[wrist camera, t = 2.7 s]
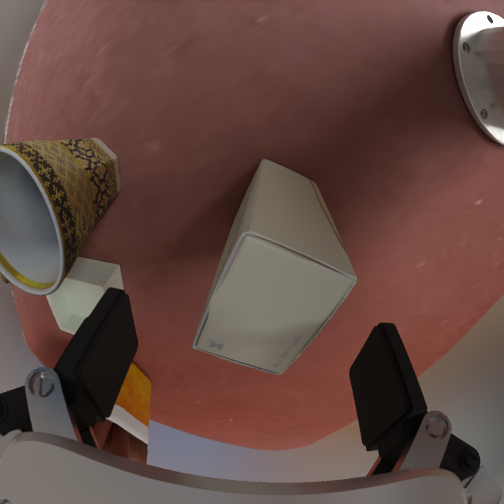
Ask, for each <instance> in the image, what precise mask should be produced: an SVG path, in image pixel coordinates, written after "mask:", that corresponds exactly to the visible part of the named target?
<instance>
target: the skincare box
mask: <svg viewBox="0 0 504 504" xmlns="http://www.w3.org/2000/svg"><path fill="white" fill-rule="evenodd" d="M356 282H357V277H356V275H355V272H354V269H353V267H352V265H351V262H350V260H349V258H348V255H347V253H346V250H345V248H344V245H343V243H342V240H341V238H340V235H339V233H338V231H337V228H336V226H335V224H334V222H333V219H332V217H331V215H330V213H329V210H328V208H327V206H326V204H325V202H324V200H323V197H322V195H321V193H320V191H319V189H318V187H317V185H316V183H315V182H314V181H312V180H310V179H308V178H306V177H304V176H302V175H300V174H298V173H296V172H294V171H292V170H290V169H288V168H285V167H283V166H281V165H279V164H277V163H274V162H272V161H270V160H267V159H263V160H262V161H261V163H260V165H259V167H258V169H257V171H256V173H255V175H254V177H253V179H252V181H251V183H250V185H249V188H248V190H247V192H246V194H245V196H244V199H243V201H242V203H241V205H240V208H239V210H238V212H237V215H236V217H235V220H234V222H233V225H232V227H231V230H230V233H229V236H228V239H227V242H226V245H225V247H224V250H223V253H222V256H221V259H220V262H219V265H218V268H217V271H216V274H215V277H214V280H213V283H212V286H211V289H210V291H209V294H208V297H207V300H206V303H205V306H204V310H203V313H202V316H201V319H200V322H199V325H198V328H197V331H196V335H195V338H194V341H193V344H192V347H193V349H197V350H199V351H203V352H205V353H208V354H211V355H213V356H216V357H219V358H222V359H225V360H228V361H231V362H234V363H237V364H241V365H244V366H247V367H250V368H253V369H258V370H261V371H264V372H268V373H272V374H275V375H281V374H282V373H284V372H285V370H286V369H287V368H289V366H290V365H291V364H292V363H293V362H294V361H295V360H296V359H297V358H298V357H299V356H300V355H301V354H302V353H303V351H304V350H305V349H306V348H307V347H308V346H309V344H310V343H311V342H312V341H313V340H314V339H315V337H316V336H317V335H318V333H319V332H320V331H321V330H322V329H323V327H324V326H325V325H326V324H327V322H328V321H329V320H330V318H331V317H332V316H333V315H334V313H335V312H336V310H337V309H338V308H339V306H340V305H341V304H342V303H343V301H344V300H345V298H346V297H347V296H348V294H349V293H350V291H351V290H352V288H353V287H354V286H355V284H356Z"/></svg>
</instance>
